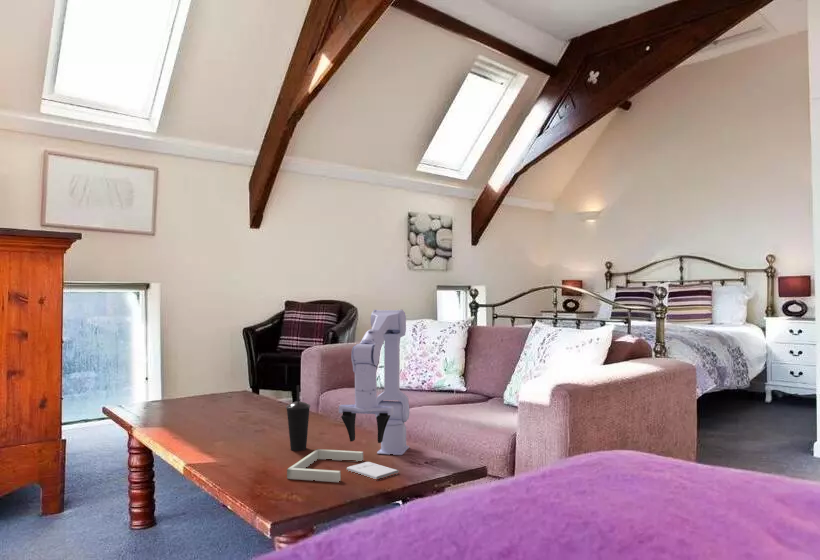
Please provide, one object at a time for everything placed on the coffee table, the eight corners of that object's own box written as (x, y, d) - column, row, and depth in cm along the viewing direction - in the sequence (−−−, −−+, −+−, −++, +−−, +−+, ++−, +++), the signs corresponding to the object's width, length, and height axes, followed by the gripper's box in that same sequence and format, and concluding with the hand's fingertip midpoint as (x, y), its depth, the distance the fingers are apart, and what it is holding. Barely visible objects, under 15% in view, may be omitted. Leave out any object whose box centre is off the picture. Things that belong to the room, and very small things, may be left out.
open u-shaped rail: (317, 457, 178) (317, 449, 178) (363, 460, 175) (363, 451, 175) (287, 478, 158) (287, 469, 158) (338, 482, 155) (338, 472, 155)
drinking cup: (286, 453, 183) (286, 387, 183) (285, 446, 190) (284, 384, 191) (312, 451, 185) (311, 386, 185) (309, 445, 192) (309, 383, 193)
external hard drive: (376, 482, 156) (346, 472, 165) (398, 475, 162) (368, 466, 170) (376, 476, 156) (346, 466, 165) (398, 469, 162) (368, 460, 170)
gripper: (334, 391, 155) (334, 443, 155) (388, 393, 151) (388, 446, 151) (343, 386, 162) (344, 437, 161) (395, 388, 158) (395, 439, 158)
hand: (366, 441), depth 157 cm, fingers open, 7 cm apart
